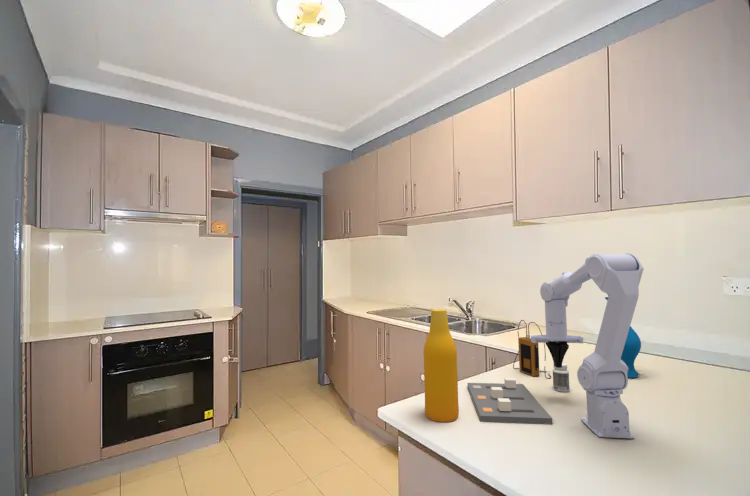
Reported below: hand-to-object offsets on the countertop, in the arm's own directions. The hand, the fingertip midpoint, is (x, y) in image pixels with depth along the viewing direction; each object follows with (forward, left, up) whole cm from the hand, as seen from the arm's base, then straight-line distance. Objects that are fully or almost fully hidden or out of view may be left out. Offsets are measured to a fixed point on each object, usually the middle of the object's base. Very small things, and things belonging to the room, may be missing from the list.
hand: (557, 366), depth 107 cm
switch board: (-4, +17, -10) cm, 20 cm away
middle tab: (-4, +19, -8) cm, 21 cm away
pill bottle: (+9, -4, -10) cm, 14 cm away
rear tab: (+5, +13, -8) cm, 16 cm away
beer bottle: (-14, +36, -10) cm, 40 cm away
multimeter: (+27, -2, -10) cm, 29 cm away
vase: (+27, -32, -10) cm, 43 cm away
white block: (-13, +19, -8) cm, 24 cm away
